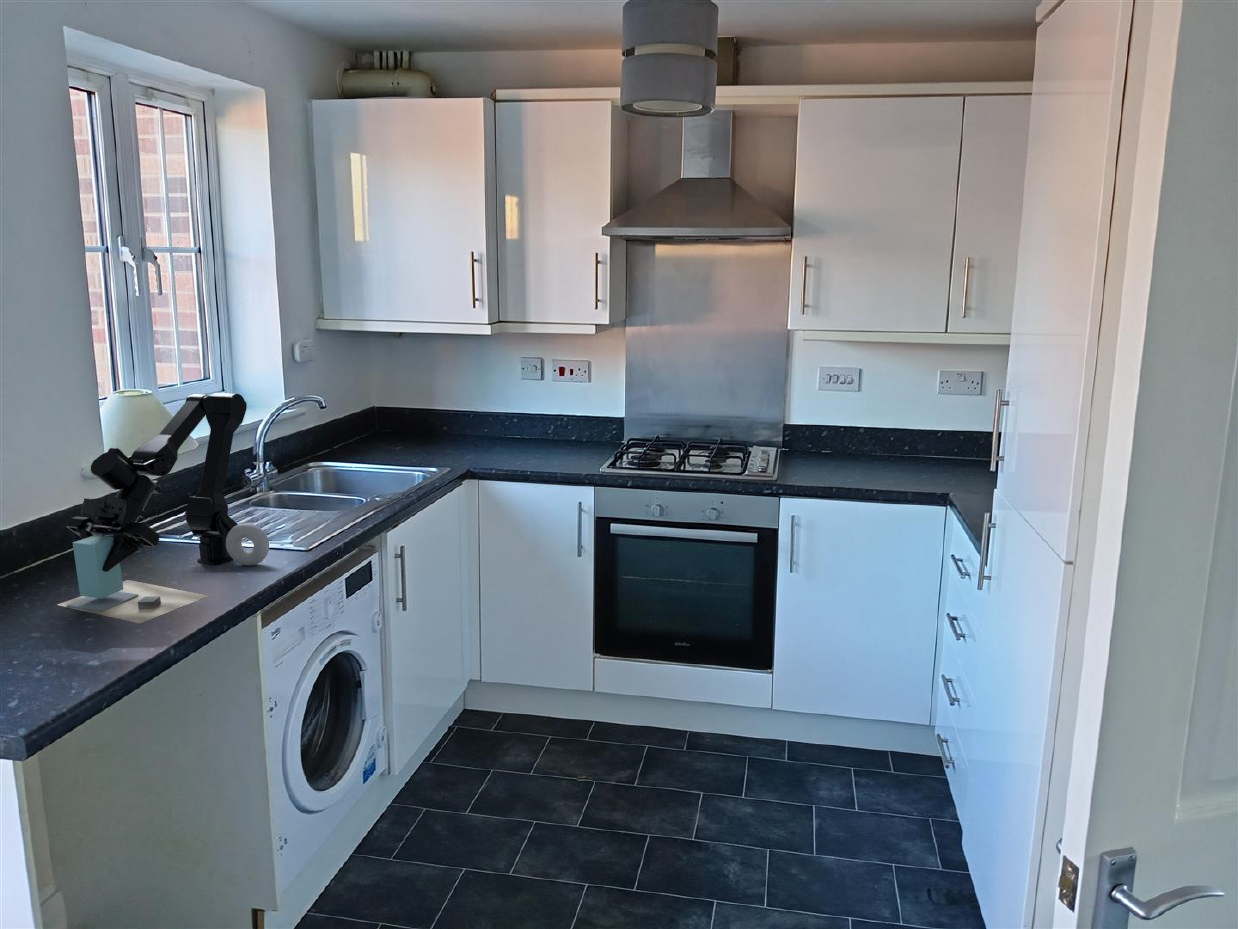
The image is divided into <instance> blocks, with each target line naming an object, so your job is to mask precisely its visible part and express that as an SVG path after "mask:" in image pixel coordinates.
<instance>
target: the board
mask: <svg viewBox="0 0 1238 929" xmlns="http://www.w3.org/2000/svg"><path fill="white" fill-rule="evenodd" d="M122 582H123V590H121V591H118V592H124V593H132V594H138V595H139V596H138V597H136V598H133V599H131V600H129V601H126V602H124V603H122V604H119V605H117V606H115V607H112V608H110V609H108V610H106V611H103V612H99V611H92V610H84V609H77V608H70V607H67V606H66V605H68V604H70V603H73V602H75V601H78V600H80V599H83V598H85V597H86V596H77V597H75V598H71V599H70V600H69V599H68V600H67V601H63V602H61V603H60V602H59V603H58V604H56V605H57V606H59V607H64V608H67V609H71V610H78V611H81V612H82V611H83V612H85V613H90V614H96V615H99V616H104V617H109V618H113V619H116V620H121V621H126V622H131V623H133V624H134V623H135V624H138V625H139V624H143V623H145V622H147V621H150V620H152V619H155V618H157V617H160V616H162V615H165V614H168V613H170V612H172V611H175V610H178V609H180V608H182V607H183V608H184V607H185V606H187V605H190V604H192V603H195V602H198V601H201V600H203V599H205V598H207V597H209V595H206V594H201V593H197V592H191V591H186V590H182V589H181V590H180V589H176V588H170V587H166V586H161V585H156V584H151V583H145V582H140V581H135V580H130V579H126V580H124V581H123V580H122Z"/></svg>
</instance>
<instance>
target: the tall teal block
mask: <svg viewBox="0 0 1238 929" xmlns="http://www.w3.org/2000/svg"><path fill="white" fill-rule="evenodd" d="M113 543H114V541H113V536H109V535H104V536H102V535H94V536H91V537H88V538H85V539H80V540H79V539H78V540H76V541H73V542H72V549H73V556H74V562H75V569H76V576H77V583H78V590H79V595H80V596H86V597H93V598H101V599H102V598H104V597H106V596H109V595H111V594H114V593H116V592H118V591H121V590H123V576H122V575H123V574H122V570H121V568H122V567H121V562H120V563H118V564H117V565H116V566H114V567H113V568H112V569H110V570H109V571H108V572H105V571H103V570H102V568H103V565H104V562H105V560H106V558H107V556H108V554H109V552H110V550H111V548H112V546H113ZM80 596H79V597H80Z"/></svg>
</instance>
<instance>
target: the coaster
mask: <svg viewBox="0 0 1238 929" xmlns="http://www.w3.org/2000/svg"><path fill="white" fill-rule="evenodd" d="M138 596H139V595H138V594H132V593H124V592H116V593H114V594H111V595H109V596H106V597H104V598H102V599H101V598H93V597H85V598H83V599H80V600H78V601H75V602H73V603H70V604H68V605H66V606H67V607H66V608H68V607H70V608H69V609H72V608H77V609H84V610H92V611H99V612H103V611H106V610H108V609H110V608H112V607H115V606H117V605H119V604H122V603H124V602H126V601H129V600H131V599H133V598H136V597H138ZM77 609H76V610H77Z"/></svg>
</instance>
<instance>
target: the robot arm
mask: <svg viewBox="0 0 1238 929" xmlns="http://www.w3.org/2000/svg"><path fill="white" fill-rule="evenodd" d="M247 405H248V403H247V401H246V400H245V398H244V397H243V395H241V394H239V393H230V392H228V393H227V392H226V393H225V392H214V393H212V394H211V395H209V394H194V393H193V394H191V395H188V396H187V397H186V399H185V402H184V403H183V405H182V406H181V407H180V409H178V411H177V412H176V413H175V414H174V415H173V417H171V419H170V420H169V422H168V423H167V424H165V426H164V427H163V429H162V430H161V431H160V432H159V434H158V435H156V436H155V437H153V438H151V439H149V440H147V441H145V442H144V443H142V444H141V445H140V446H139V447H137V448H136V449H135V450H134V451H133V452H132V454H131V455H129V456H127V455H125V453H124V452H123V451H122V450H121V449H120V448H118V447H109V449H108V450H107V452H106V451H105V452H104V453H102V454H101V455H99V456H98V457H96V458H95V459H93V462H91V465H90V473H91V474H93V476H95V477H96V478H98V479H99V480H100V481H101V482H103V483H104V484H105V485H107V486H108V487H109V488H110V489H112V490H116V491H118V492H117V494H116V495H115V496H108V498H107V499H106V500H103V499H96V498H95V499H94V498H83V503H82V504H81V505H82V506H81V509H80V515H89V516H93V517H94V520H95V521H94V520H93V519H91V518H90V517H84V516H74V517H71V518H70V519H69V521H68V522H67V524H66V526H65V527H66V528H67V529H69V530H70V531H71V532H73V533H74V534H76V535H77V536H79V537H80V538H81V539H80V540H82V539H85V538H88V537H91V536H94V535H102V536H111V537H113V541H114V543H113V546H112V548H111V550H110V552H109V554H108V556H107V558H106V560H105V562H104V565H103V568H102V570H103V571H105V572H108V571H109V570H110V569H112V568H113V567H114V566H116V565H117V564H118V563H120V564H121V562H122V561H125V559H127V558H129V557H130V556H131V555H133V554H135V553H136V552H137V551H142V550H143V548H144V547H145V548H156V547H157V545H158V543H159V541H160V534H159V532H157V531H156V530H155V529H154V528H152V527H151V526H150V525H148V524H147V523H146V522H138V520H139V518H142V519H144V518H145V517H146V515H147V514H146V512H145V511H144V509H145V507H146V505H147V504H148V502H149V499H150V498H151V495H152V494H156V495H157V494H158V495H161V494H162V493H163V490H162V487H161V484H160V481H159V480H152V479H151V478H150V477H148V476H151V477H166V476H167V475H168V474H170V473H171V471H172V469H173V468H174V466H175V464H176V462H177V461H178V459H179V458H178V453H179V452H178V451H179V449H180V448H181V446H183V444H184V442H186V440H187V439H188V438H189V436H190V435H191V434H192V433H193V431H194V430H195V429H196V428H197V427H198V426H199V424H200V423H201V422H202V420H203V419H204V418H205V419H206V421H207V424H208V426H209V428H210V429H209V430H210V432H209V436H208V444H207V447H206V455H205V458H204V459H205V460H204V466H203V470H202V475H201V483H200V487H199V491H198V492H197V493H196V494H195V495H194V496H188V499H187V503H186V504H187V506H186V509H185V511H184V515H186V516H185V522H186V523H187V524H188V526H189V528H190V531H191V533H192V535H193V536H199V544H198V548H199V558H197V560H196V561H197V562H199V563H204V564H208V565H209V564H210V565H214V566H215V565H216V566H217V565H220V564H224V563H225V562H228V561H232V560H233V559H232V558H231V556H230V555H229V553H228V552H227V548H226V537H227V535H228V532H229V531H230V530H231V529H232V528H233V527H234V526H236V525H238V523H237V522H236V521H235V520H234V519H233V518H231V516H230V515H228V514H229V512H228V511H229V506H228V502H227V500H226V497H225V495H224V492H225V484H226V480H227V474H228V468H229V462H230V458H231V457H230V455H231V451H232V445H233V438H234V434H235V431H237V430H238V428H239V427H240V426H241V425H242V424H243V422H244V419H245V415H246V412H247V407H248V406H247ZM96 521H97V522H96ZM98 522H99V523H101V524H99V523H98ZM142 545H143V546H142Z"/></svg>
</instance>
